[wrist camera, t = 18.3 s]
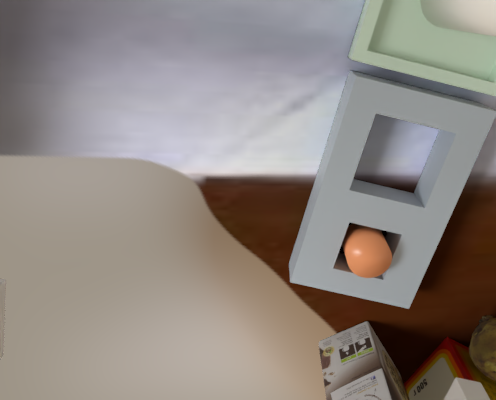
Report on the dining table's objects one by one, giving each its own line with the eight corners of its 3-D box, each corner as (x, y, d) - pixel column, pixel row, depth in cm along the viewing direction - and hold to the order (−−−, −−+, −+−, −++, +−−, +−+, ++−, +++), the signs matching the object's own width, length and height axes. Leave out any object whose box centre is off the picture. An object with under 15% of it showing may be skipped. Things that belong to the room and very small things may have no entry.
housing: (288, 263, 49) (290, 282, 45) (349, 70, 41) (356, 76, 38) (399, 288, 49) (408, 308, 46) (480, 103, 42) (498, 111, 38)
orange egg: (336, 252, 47) (341, 272, 43) (348, 216, 45) (355, 235, 42) (374, 261, 47) (383, 281, 43) (388, 226, 45) (398, 244, 42)
